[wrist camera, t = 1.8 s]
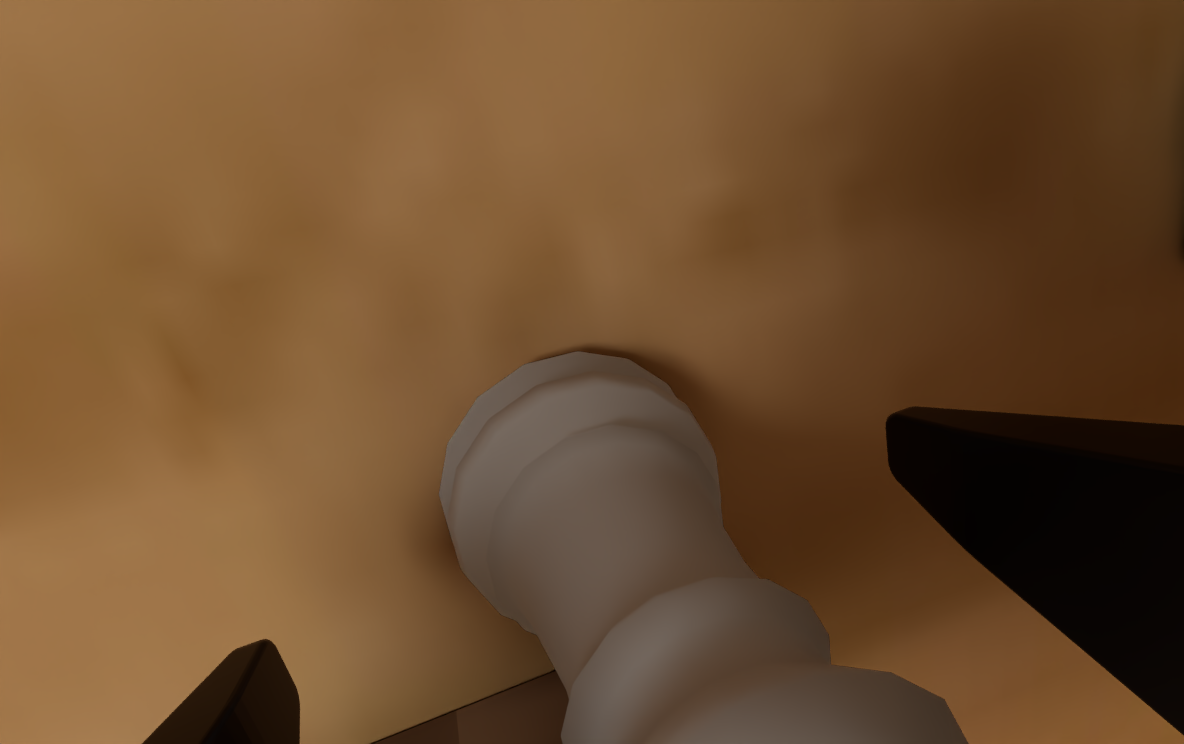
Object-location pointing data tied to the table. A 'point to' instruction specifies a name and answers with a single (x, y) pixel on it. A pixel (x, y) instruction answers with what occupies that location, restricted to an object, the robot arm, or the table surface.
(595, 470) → the rook chess piece
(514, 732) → the socket board
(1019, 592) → the robot arm
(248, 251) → the table surface
